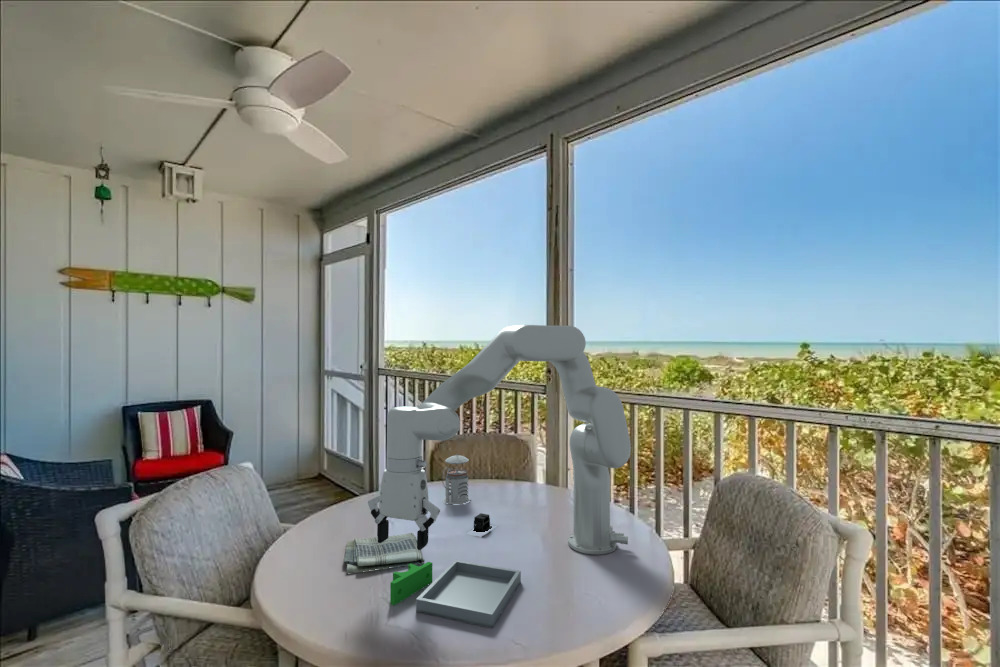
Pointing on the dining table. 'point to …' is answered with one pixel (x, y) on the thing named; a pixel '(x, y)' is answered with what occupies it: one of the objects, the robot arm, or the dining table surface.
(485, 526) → the black block
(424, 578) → the pipe clamp
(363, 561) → the dish towel
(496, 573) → the tray
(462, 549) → the dining table surface
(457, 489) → the grey metal lantern
